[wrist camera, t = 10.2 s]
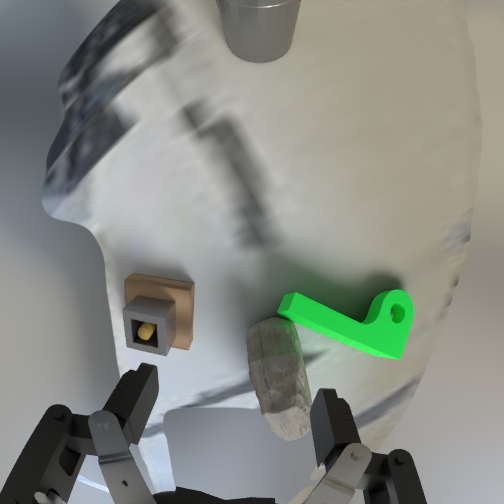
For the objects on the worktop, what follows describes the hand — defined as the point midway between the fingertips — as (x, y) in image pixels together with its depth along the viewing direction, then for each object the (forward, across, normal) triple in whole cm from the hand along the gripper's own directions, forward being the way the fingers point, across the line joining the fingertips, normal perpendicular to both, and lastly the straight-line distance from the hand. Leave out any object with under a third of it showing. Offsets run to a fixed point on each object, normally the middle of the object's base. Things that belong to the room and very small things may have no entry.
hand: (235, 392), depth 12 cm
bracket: (+27, -16, +6) cm, 32 cm away
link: (+23, +12, +11) cm, 29 cm away
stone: (+26, -7, +18) cm, 33 cm away
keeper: (+26, +12, +12) cm, 31 cm away
